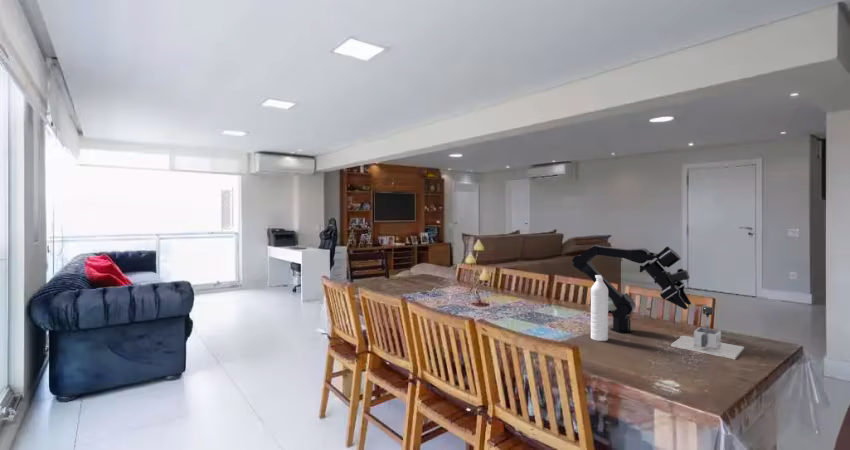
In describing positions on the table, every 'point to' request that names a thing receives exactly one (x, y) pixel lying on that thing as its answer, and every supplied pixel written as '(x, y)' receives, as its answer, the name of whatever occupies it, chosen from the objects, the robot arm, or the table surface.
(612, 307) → the air freshener
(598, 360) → the table surface
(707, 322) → the plunger
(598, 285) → the water bottle
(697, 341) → the white socket holder tray
